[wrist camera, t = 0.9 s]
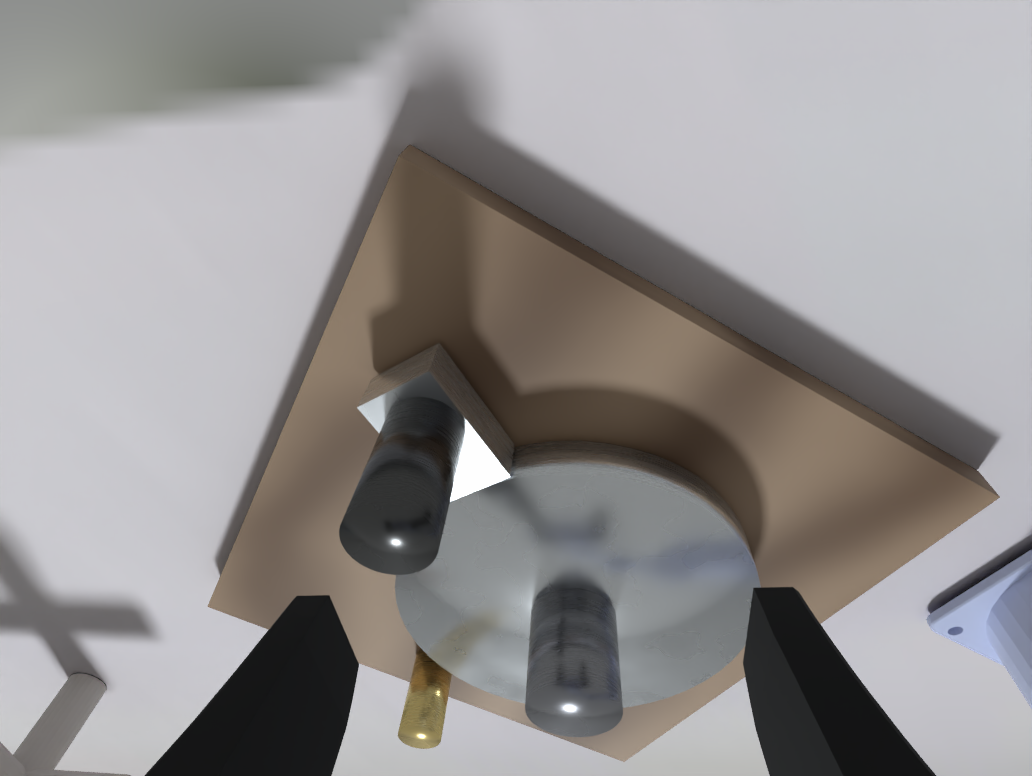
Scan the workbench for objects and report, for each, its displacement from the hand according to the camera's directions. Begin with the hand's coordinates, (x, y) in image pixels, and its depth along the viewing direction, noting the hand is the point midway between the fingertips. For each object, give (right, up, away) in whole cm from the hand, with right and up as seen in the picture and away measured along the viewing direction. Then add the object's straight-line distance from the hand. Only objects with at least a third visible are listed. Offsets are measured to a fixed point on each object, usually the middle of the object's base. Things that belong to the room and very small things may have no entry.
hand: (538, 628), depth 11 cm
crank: (+1, -1, +10) cm, 10 cm away
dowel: (-4, -7, +15) cm, 17 cm away
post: (+1, -3, +10) cm, 10 cm away
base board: (+2, -2, +12) cm, 12 cm away
